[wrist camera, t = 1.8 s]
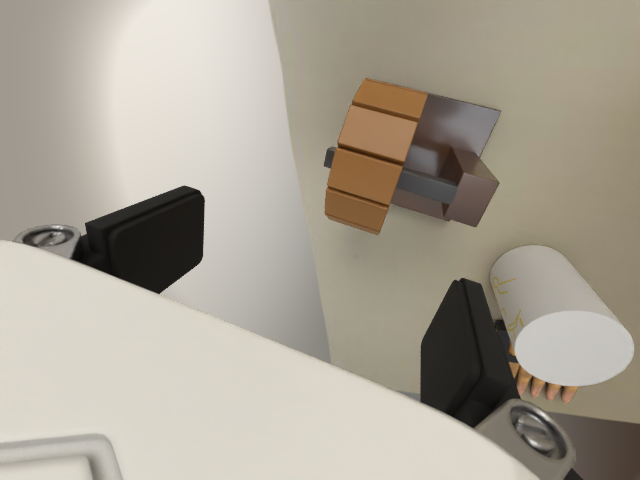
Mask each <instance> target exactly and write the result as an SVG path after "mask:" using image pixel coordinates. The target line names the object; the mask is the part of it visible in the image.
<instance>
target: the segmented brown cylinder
mask: <svg viewBox="0 0 640 480" xmlns="http://www.w3.org/2000/svg"><path fill="white" fill-rule="evenodd" d="M427 96H428V93H425V92H421V91H417V90H413V89H409V88H405V87H401V86H397V85H393V84H389V83H385V82H380V81H376V80H372V79H368V78H365V80H364V81H363V82H362V84H361V86H360V88H359V90H358V91H357V93H356V95H355V97H354V99H353V100H352V105H350V108H349V111H348V113H347V116H346V119H345V122H344V125H343V128H342V131H341V133H340V136H339V139H338V147H337V148H336V149H335V153H334V158H333V162H332V166H331V170H330V175H329V179H328V183H327V186H328V187H327V189H326V199H325V215H326V216H327V217H328V218H329V219H330V220H333V221H336V222H339V223H342V224H345V225H348V226H351V227H354V228H357V229H360V230H363V231H366V232H369V233H372V234H375V235H379V233H380V230H381V228H382V225H383V222H384V219H385V217H386V214H387V211H388V208H389V205H390V202H391V200H392V197H393V194H394V191H395V188H396V185H397V183H398V180H399V177H400V174H401V171H402V168H403V165H404V162H405V160H406V157H407V154H408V151H409V148H410V145H411V142H412V139H413V137H414V134H415V131H416V128H417V125H418V122H419V119H420V116H421V113H422V110H423V107H424V105H425V102H426V99H427Z"/></svg>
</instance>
